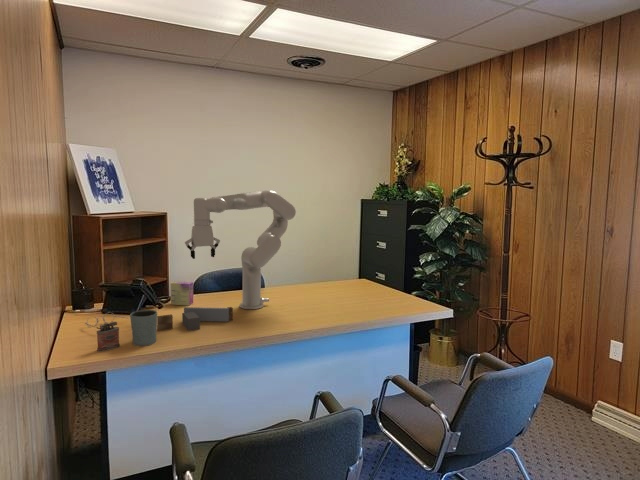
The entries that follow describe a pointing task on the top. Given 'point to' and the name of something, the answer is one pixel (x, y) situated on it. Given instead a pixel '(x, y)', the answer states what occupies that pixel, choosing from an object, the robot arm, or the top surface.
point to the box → (181, 293)
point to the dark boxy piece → (191, 321)
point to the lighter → (108, 337)
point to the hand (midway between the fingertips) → (203, 257)
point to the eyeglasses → (103, 319)
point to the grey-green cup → (144, 327)
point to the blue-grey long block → (210, 313)
